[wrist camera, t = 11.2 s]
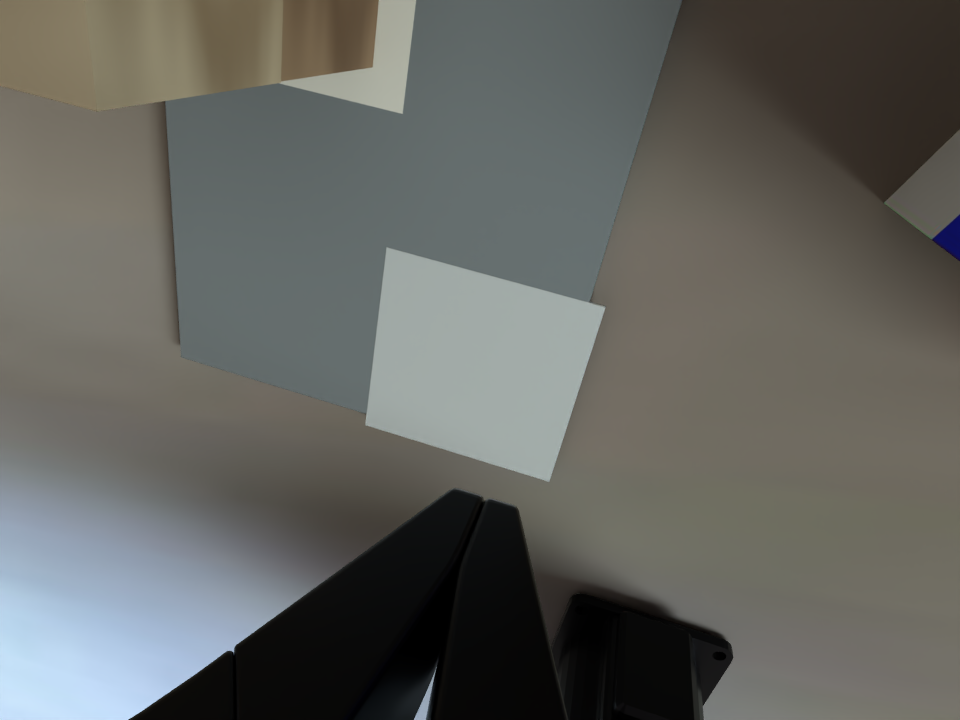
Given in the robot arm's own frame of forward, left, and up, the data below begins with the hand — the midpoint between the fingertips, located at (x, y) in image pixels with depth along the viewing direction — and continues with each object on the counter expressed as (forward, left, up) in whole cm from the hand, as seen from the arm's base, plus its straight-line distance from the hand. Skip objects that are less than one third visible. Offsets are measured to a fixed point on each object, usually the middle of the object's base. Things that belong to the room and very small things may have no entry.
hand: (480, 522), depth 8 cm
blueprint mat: (+1, +6, -13) cm, 14 cm away
